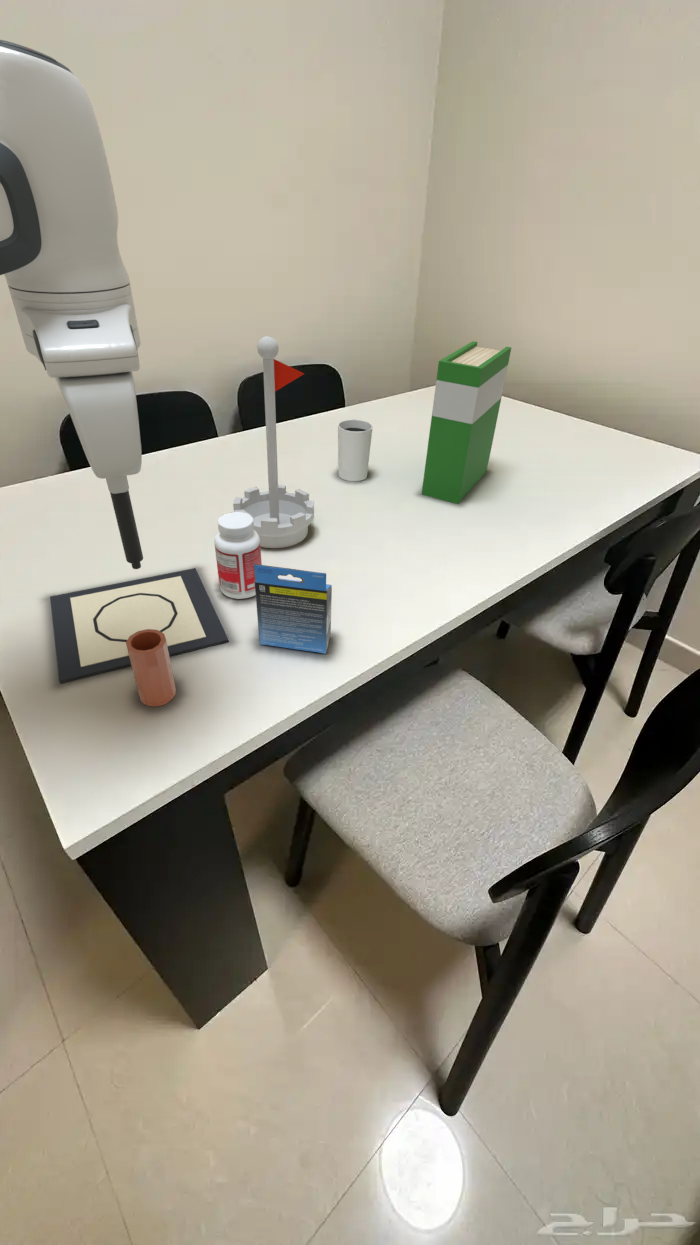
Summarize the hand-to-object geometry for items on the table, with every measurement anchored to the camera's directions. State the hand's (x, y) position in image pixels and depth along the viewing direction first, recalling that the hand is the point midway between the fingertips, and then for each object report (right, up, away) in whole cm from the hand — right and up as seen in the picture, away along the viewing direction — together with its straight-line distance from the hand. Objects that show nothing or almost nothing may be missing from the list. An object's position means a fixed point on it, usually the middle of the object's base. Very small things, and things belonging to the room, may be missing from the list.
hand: (116, 483), depth 56 cm
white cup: (+23, +16, +61) cm, 67 cm away
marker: (0, -7, +6) cm, 10 cm away
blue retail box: (+15, -16, +20) cm, 30 cm away
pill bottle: (+7, -8, +29) cm, 31 cm away
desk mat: (-6, -13, +22) cm, 26 cm away
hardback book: (+43, +15, +60) cm, 76 cm away
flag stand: (+10, +2, +42) cm, 43 cm away
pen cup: (0, -22, +11) cm, 24 cm away
